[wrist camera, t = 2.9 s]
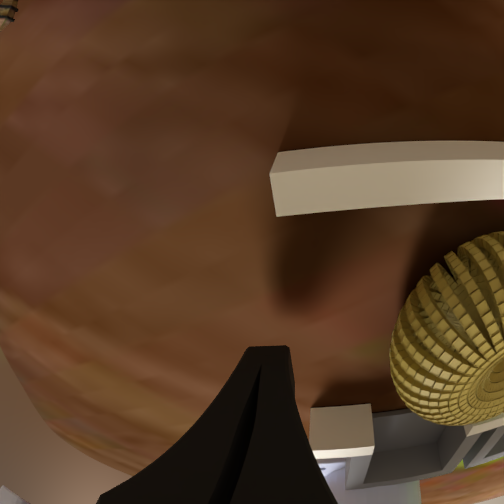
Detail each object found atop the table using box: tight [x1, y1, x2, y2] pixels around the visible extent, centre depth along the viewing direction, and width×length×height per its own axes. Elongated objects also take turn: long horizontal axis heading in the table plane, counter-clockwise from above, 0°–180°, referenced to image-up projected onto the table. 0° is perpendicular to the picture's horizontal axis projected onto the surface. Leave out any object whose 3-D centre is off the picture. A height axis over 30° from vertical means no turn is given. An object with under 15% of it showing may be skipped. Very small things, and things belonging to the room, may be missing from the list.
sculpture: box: [389, 231, 504, 426], centre depth 9 cm, size 8×4×8 cm
